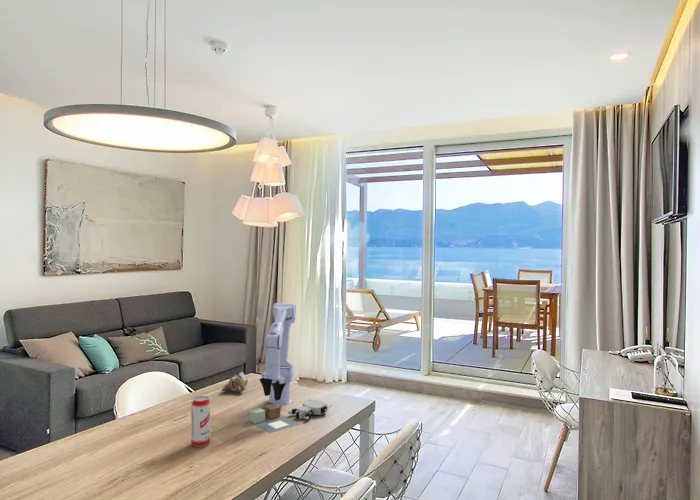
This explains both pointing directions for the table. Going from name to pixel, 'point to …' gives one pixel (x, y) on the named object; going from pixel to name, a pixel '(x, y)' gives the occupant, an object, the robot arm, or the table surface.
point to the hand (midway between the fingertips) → (272, 397)
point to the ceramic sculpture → (236, 383)
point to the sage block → (257, 415)
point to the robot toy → (310, 409)
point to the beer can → (200, 421)
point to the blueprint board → (275, 424)
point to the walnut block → (272, 411)
